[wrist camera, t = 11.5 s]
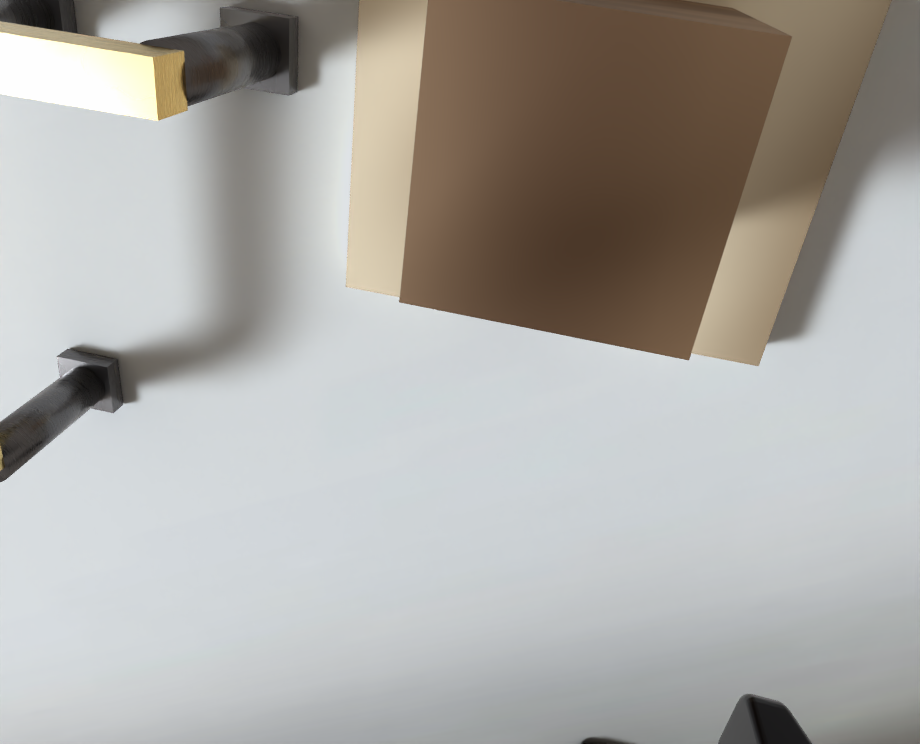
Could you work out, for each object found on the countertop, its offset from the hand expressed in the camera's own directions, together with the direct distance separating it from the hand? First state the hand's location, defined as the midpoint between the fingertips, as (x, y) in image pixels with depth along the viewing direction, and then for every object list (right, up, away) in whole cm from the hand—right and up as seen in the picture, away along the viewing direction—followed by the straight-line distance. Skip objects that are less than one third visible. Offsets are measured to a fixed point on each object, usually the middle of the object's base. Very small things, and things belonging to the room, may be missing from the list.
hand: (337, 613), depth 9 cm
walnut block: (+4, +8, +7) cm, 11 cm away
